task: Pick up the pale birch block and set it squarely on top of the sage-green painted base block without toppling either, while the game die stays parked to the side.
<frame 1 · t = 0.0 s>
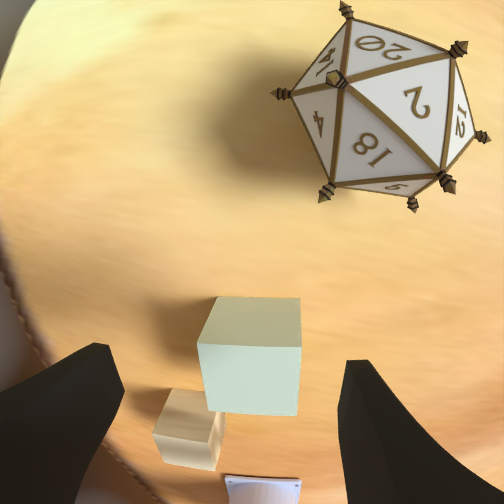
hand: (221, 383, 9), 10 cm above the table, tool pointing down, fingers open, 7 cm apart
base block: (259, 331, 20), on the table
game die: (364, 116, 15), on the table
birch block: (200, 407, 23), on the table
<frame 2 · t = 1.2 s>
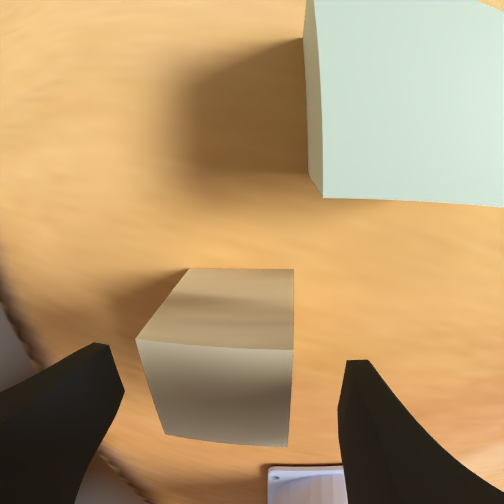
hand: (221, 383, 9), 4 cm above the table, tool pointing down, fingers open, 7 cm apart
base block: (376, 106, 9), on the table
birch block: (243, 314, 13), on the table
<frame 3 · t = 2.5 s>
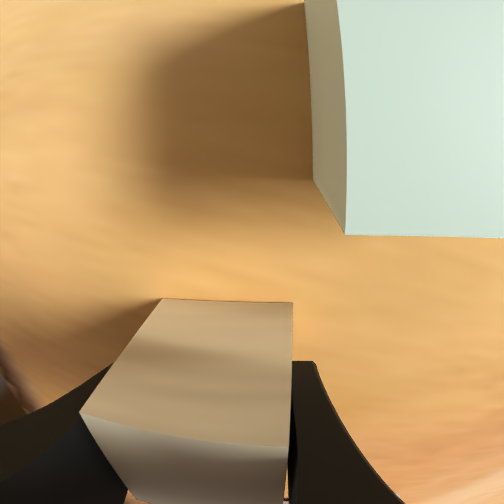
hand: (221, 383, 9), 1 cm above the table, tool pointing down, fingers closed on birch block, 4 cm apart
base block: (402, 92, 7), on the table
birch block: (229, 354, 10), on the table, touching gripper
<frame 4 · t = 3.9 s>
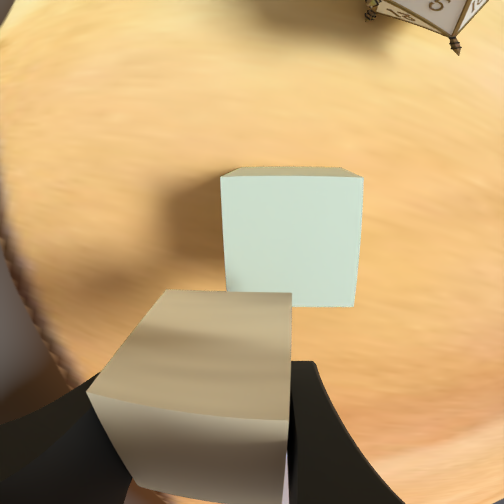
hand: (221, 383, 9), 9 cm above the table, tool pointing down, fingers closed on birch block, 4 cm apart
base block: (291, 215, 16), on the table
birch block: (230, 344, 10), point 7 cm above the table, touching gripper
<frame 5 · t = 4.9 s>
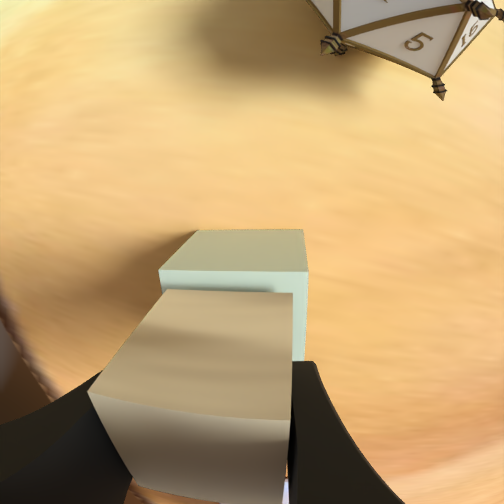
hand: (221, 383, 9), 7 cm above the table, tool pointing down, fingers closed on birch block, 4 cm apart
base block: (251, 278, 16), on the table
game die: (369, 16, 11), on the table
birch block: (231, 344, 10), point 6 cm above the table, touching gripper
when the fingers open (7 cm above the table, at t = 5.3 s): birch block stays where it is, point 5 cm above the table.
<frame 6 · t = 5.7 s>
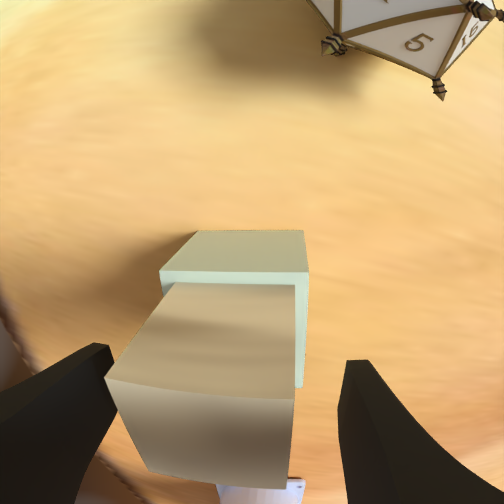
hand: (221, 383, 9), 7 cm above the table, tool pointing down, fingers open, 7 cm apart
base block: (251, 278, 16), on the table
game die: (369, 17, 11), on the table
birch block: (236, 334, 11), point 5 cm above the table
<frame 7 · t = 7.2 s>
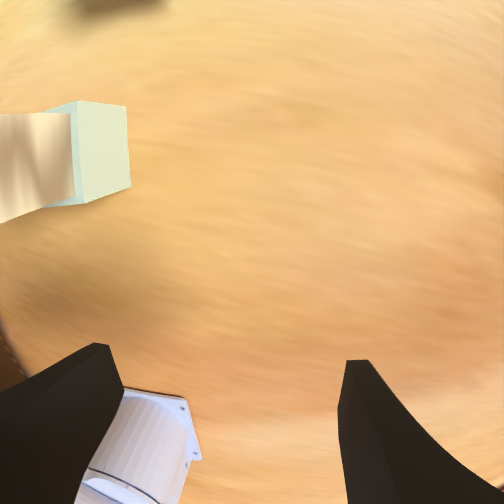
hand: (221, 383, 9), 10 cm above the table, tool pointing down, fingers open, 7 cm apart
base block: (95, 151, 17), on the table, touching birch block
birch block: (44, 159, 13), point 5 cm above the table, touching base block
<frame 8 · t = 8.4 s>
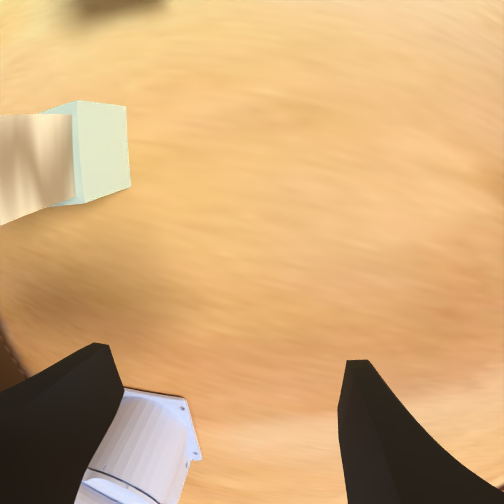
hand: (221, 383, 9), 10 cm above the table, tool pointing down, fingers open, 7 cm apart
base block: (95, 151, 17), on the table, touching birch block
birch block: (45, 160, 13), point 5 cm above the table, touching base block
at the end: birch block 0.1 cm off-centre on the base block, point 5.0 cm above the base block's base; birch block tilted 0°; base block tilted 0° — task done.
